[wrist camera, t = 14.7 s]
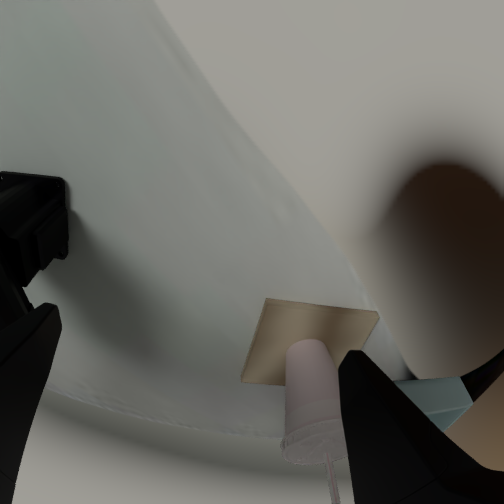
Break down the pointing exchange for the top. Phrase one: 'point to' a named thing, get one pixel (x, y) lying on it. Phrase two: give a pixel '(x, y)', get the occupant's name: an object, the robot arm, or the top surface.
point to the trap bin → (438, 398)
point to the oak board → (302, 336)
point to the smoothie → (313, 410)
